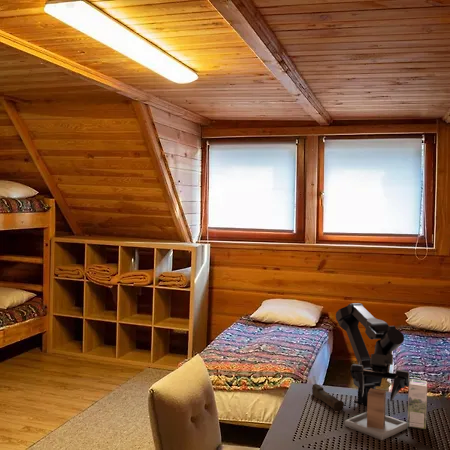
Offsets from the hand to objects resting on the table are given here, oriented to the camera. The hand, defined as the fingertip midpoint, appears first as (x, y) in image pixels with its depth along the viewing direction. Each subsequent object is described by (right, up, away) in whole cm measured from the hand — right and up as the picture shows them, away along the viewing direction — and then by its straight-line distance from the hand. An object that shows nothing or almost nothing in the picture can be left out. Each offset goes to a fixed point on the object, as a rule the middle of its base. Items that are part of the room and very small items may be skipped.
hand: (376, 398), depth 185 cm
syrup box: (+14, -10, +3) cm, 18 cm away
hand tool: (-13, -9, +23) cm, 28 cm away
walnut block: (0, -9, +1) cm, 9 cm away
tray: (0, -10, +1) cm, 10 cm away
